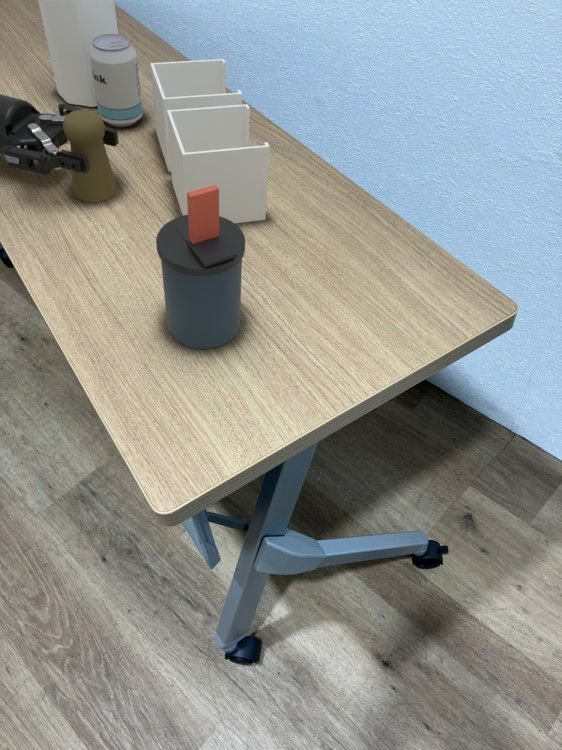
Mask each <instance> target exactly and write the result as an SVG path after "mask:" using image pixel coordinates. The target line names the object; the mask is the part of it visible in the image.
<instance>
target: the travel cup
mask: <svg viewBox="0 0 562 750" xmlns="http://www.w3.org/2000/svg"><path fill="white" fill-rule="evenodd" d="M219 233H220V234H221V235H222V236H223V237H224V239H225V240H226V241H227V242H228V243H229V245H230V246H231V247H232V248H233V249H234V251H235V252H236V253H237V257H235V258H232V259H229V260H226V261H223V262H220V263H217V264H214V265H210V266H207V267H204V266H203V265H202V263H201V262H200V261H199V260H198V258H197V257H196V256H195V254H194V253H193V252H192V250H191V249H190V248H189V246H188V245H187V241H188V240H189V225H188V215H184V216H182V215H181V216H178V217H175V218H173V219H170V220H169V221H167V222H166V223H165V224H163V226H162V227H160V229H159V231H158V233H157V235H156V240H155V245H156V252H157V255H158V257H159V259H160V263H161V275H162V283H163V292H164V293H163V294H164V303H165V304H164V305H165V313H166V323H167V329H168V332H169V334H170V335H171V337H172V338H173V339H174V340H175V341H176V342H178V344H181V345H182V346H185V347H188V348H191V349H196V350H210V349H216V348H219V347H222V346H224V345H227V344H228V343H229V342H231V341H232V340H233V339H234V338H235V337H236V335H237V334H238V333H239V331H240V327H241V303H242V269H243V268H242V267H243V265H242V264H243V258H244V256H245V254H246V253H245V252H246V251H245V250H246V237H245V234H244V232H243V231H242V229H241V228H240V227H239V226H238V225H237V223H233V222H232V221H230V220H228V219H226V218H223V217H221V216H219Z"/></svg>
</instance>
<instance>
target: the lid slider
mask: <svg viewBox="0 0 562 750" xmlns="http://www.w3.org/2000/svg"><path fill="white" fill-rule="evenodd" d="M187 206H188V225H189V240H188V241H187V245H188V246H189V248H190V249H191V250H192V252H193V253H194V254H195V256H196V257H197V258H198V260H199V261H200V262H201V263H202V265H203V266H204V267H207V266H210V265H214V264H217V263H220V262H223V261H226V260H229V259H232V258H235V257H237V253H236V252H235V251H234V249H233V248H232V247H231V246H230V245H229V243H228V242H227V241H226V240H225V239H224V237H223V236H222V235H221V234H220V233H219V188H218V187H217V186H216V185H212V186H209V187H205V188H201V189H197V190H194V191H190V192H187Z"/></svg>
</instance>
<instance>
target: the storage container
mask: <svg viewBox="0 0 562 750" xmlns="http://www.w3.org/2000/svg"><path fill="white" fill-rule="evenodd" d="M149 64H150V65H149V66H150V76H151V77H150V78H151V86H152V87H151V88H152V98H153V110H154V119H155V120H154V121H155V130H156V136H157V140H158V143H159V147H160V149H161V152H162V155H163V156H162V157H163V158H164V162H165V165H166V168H167V171H168V173H171V182H172V183H171V184H172V186H173V187H172V188H173V190H174V193H175V197H176V199H177V203H178V206H179V210H180V212H181V214H182V215H181V216H184V215H188V206H187V192H190V191H194V190H197V189H201V188H205V187H209V186H212V185H216V186H217V187H218V188H219V216H221V217H223V218H226V219H228V220H230V221H232V222H233V223H235V224H243V223H249V222H250V223H251V222H259V221H266V216H267V215H266V213H267V199H268V198H267V197H268V182H269V181H268V180H269V167H270V166H269V165H270V149H271V147H270V146H271V145H270V144H269V143H268V141H264V143H263V145H254V146H250V144H249V143H250V142H249V141H250V117H251V116H250V113H251V112H250V111H251V110H250V109H251V108H250V106H249V104H243V92H242V90H241V89H237V90H236V91H237V92H229V93H227V62H226V60H225V59H224V58H219V59H200V60H182V61H181V60H180V61H166V62H165V61H164V62H150V63H149Z"/></svg>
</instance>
